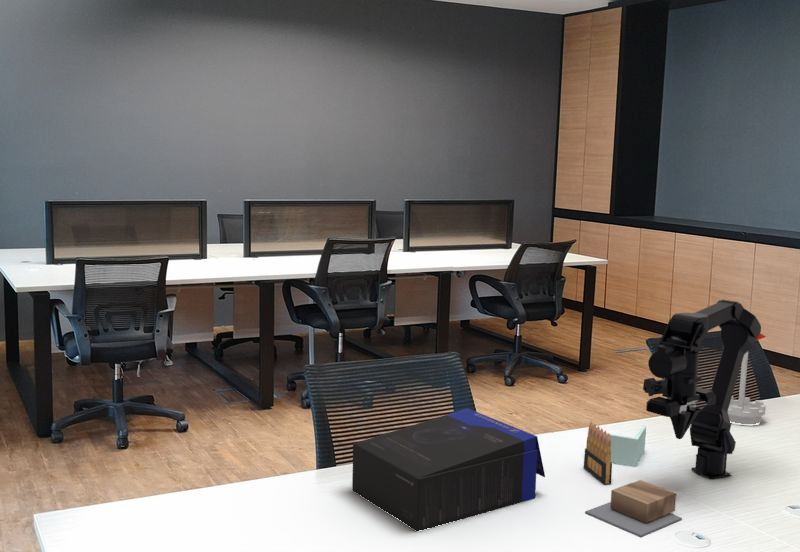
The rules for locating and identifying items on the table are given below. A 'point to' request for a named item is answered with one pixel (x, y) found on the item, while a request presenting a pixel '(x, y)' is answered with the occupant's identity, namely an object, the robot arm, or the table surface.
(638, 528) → the mat
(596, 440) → the ammunition clip
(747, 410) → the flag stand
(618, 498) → the tan wooden block
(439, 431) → the headphone box
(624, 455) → the l-shaped corner panel
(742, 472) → the table surface
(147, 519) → the table surface
